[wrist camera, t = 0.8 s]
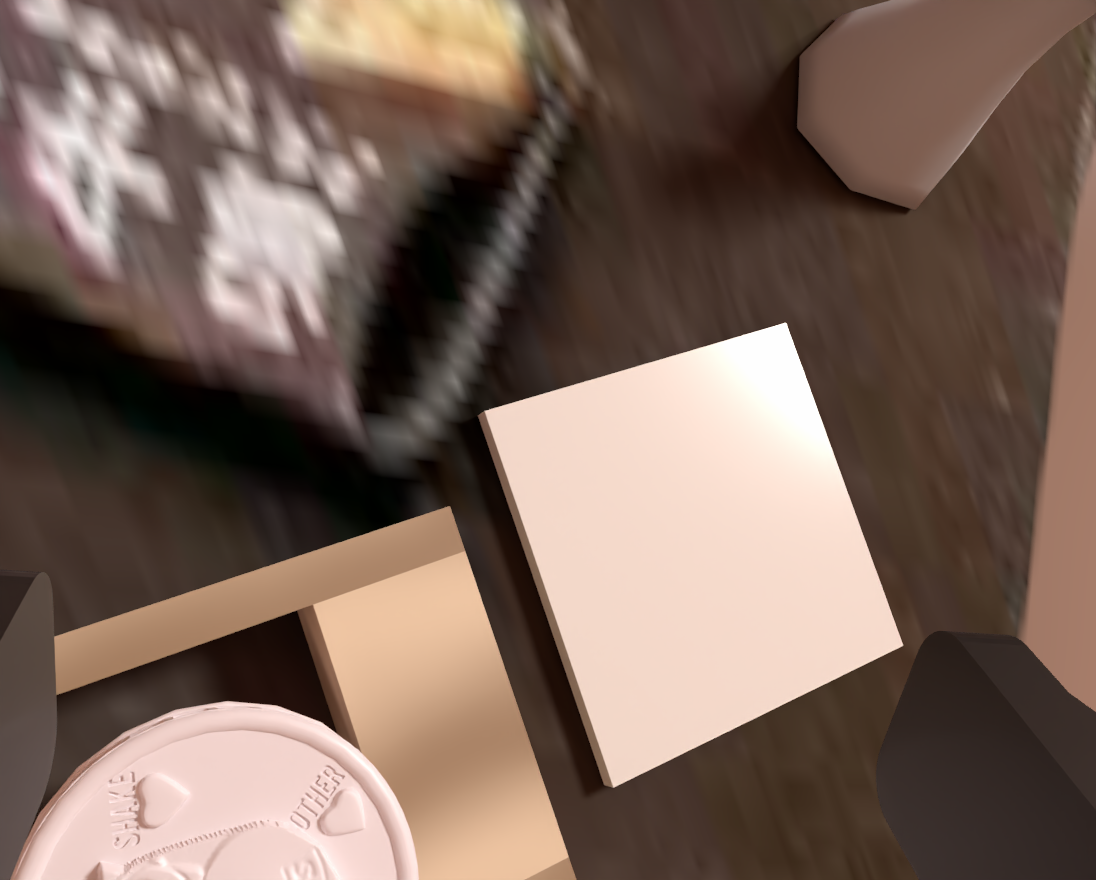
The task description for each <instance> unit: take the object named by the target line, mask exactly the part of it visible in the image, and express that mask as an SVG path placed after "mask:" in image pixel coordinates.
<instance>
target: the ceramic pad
mask: <svg viewBox="0 0 1096 880" xmlns="http://www.w3.org/2000/svg"><path fill="white" fill-rule="evenodd" d="M478 418H479V420H480V423H481V426H482V429H483V432H484V435H485V438H486V441H487V444H488V447H489V450H490V453H491V456H492V459H493V461H494V464H495V467H496V470H497V473H498V476H499V479H500V482H501V485H502V488H503V491H504V494H505V497H506V499H507V502H508V505H509V508H510V511H511V514H512V517H513V520H514V523H515V526H516V529H517V532H518V535H519V537H520V540H521V543H522V546H523V549H524V552H525V555H526V558H527V561H528V564H529V567H530V570H531V573H532V575H533V578H534V581H535V584H536V587H537V590H538V593H539V596H540V599H541V602H542V605H543V608H544V611H545V613H546V616H547V619H548V622H549V625H550V628H551V631H552V634H553V637H554V640H555V643H556V646H557V649H558V651H559V654H560V657H561V660H562V663H563V666H564V669H565V672H566V675H567V678H568V681H569V684H570V687H571V689H572V692H573V695H574V698H575V701H576V704H577V707H578V710H579V713H580V716H581V719H582V722H583V725H584V727H585V730H586V733H587V736H588V739H589V742H590V745H591V748H592V751H593V754H594V757H595V760H596V763H597V765H598V768H599V771H600V774H601V777H602V780H603V783H604V785H606V786H609V787H613V788H614V787H616V786H618V785H620V784H622V783H624V782H626V781H628V780H630V779H632V778H634V777H636V776H638V775H640V774H642V773H644V772H646V771H648V770H650V769H652V768H654V767H656V766H659V765H661V764H663V763H665V762H667V761H669V760H671V759H673V758H675V757H677V756H679V755H681V754H683V753H685V752H687V751H689V750H691V749H693V748H695V747H697V746H699V745H701V744H703V743H705V742H707V741H710V740H712V739H714V738H716V737H718V736H720V735H722V734H724V733H726V732H728V731H730V730H732V729H734V728H736V727H738V726H740V725H742V724H744V723H746V722H748V721H750V720H752V719H754V718H756V717H758V716H761V715H763V714H765V713H767V712H769V711H771V710H773V709H775V708H777V707H779V706H781V705H783V704H785V703H787V702H789V701H791V700H793V699H795V698H797V697H799V696H801V695H803V694H805V693H807V692H809V691H812V690H814V689H816V688H818V687H820V686H822V685H824V684H826V683H828V682H830V681H832V680H834V679H836V678H838V677H840V676H842V675H844V674H846V673H848V672H850V671H852V670H854V669H856V668H858V667H861V666H863V665H865V664H867V663H869V662H871V661H873V660H875V659H877V658H879V657H881V656H883V655H885V654H887V653H889V652H891V651H893V650H895V649H897V648H899V647H901V646H903V644H902V641H901V638H900V635H899V633H898V630H897V627H896V624H895V622H894V619H893V616H892V613H891V611H890V608H889V605H888V602H887V600H886V597H885V594H884V591H883V589H882V586H881V583H880V580H879V578H878V575H877V572H876V569H875V567H874V564H873V561H872V558H871V556H870V553H869V550H868V547H867V545H866V542H865V539H864V536H863V534H862V531H861V528H860V525H859V523H858V520H857V517H856V514H855V512H854V509H853V506H852V503H851V501H850V498H849V495H848V492H847V490H846V487H845V484H844V481H843V479H842V476H841V473H840V470H839V468H838V465H837V462H836V459H835V457H834V454H833V451H832V448H831V446H830V443H829V440H828V437H827V435H826V432H825V429H824V426H823V424H822V421H821V418H820V415H819V413H818V410H817V407H816V404H815V402H814V399H813V396H812V393H811V391H810V388H809V385H808V382H807V380H806V377H805V374H804V371H803V369H802V366H801V363H800V360H799V358H798V355H797V352H796V349H795V347H794V344H793V341H792V338H791V336H790V333H789V330H788V327H787V325H786V323H784V324H781V325H777V326H774V327H770V328H767V329H764V330H760V331H757V332H753V333H750V334H746V335H743V336H740V337H736V338H733V339H729V340H726V341H723V342H719V343H716V344H712V345H709V346H705V347H702V348H699V349H695V350H692V351H688V352H685V353H682V354H678V355H675V356H671V357H668V358H664V359H661V360H658V361H654V362H651V363H647V364H644V365H641V366H637V367H634V368H630V369H627V370H623V371H620V372H617V373H613V374H610V375H606V376H603V377H600V378H596V379H593V380H589V381H586V382H582V383H579V384H576V385H572V386H569V387H565V388H562V389H559V390H555V391H552V392H548V393H545V394H541V395H538V396H535V397H531V398H528V399H524V400H521V401H518V402H514V403H511V404H507V405H504V406H500V407H497V408H494V409H490V410H487V411H484V412H483V413H481V414H480V415H478Z"/></svg>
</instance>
